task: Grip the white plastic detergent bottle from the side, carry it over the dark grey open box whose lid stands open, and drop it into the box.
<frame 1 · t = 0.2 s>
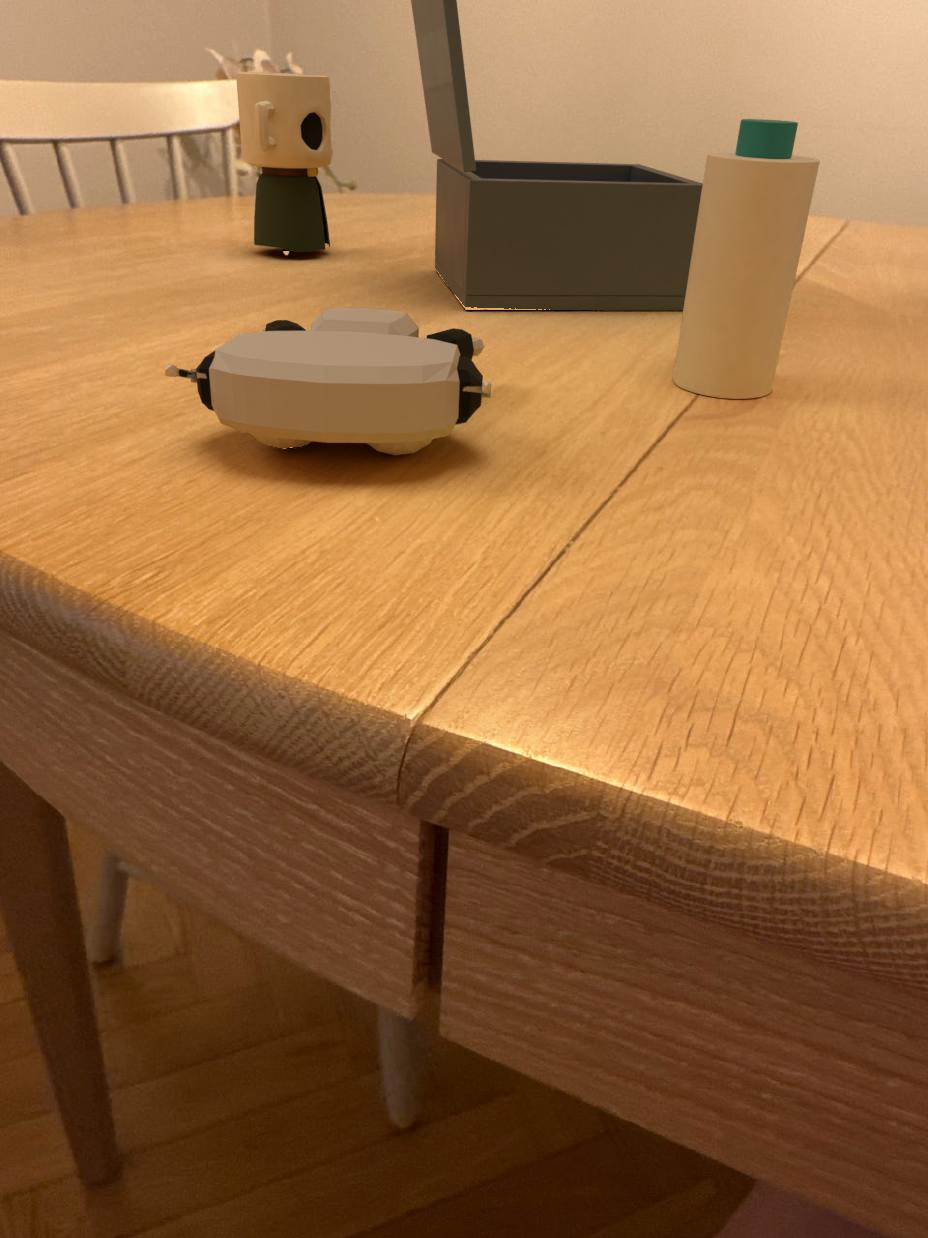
robot toy: (354, 426, 43), on the table
washer lid: (433, 16, 60), point 17 cm above the table, hinge at 100.0°
character mug: (292, 255, 79), on the table
dark grey open box: (554, 289, 70), on the table
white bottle: (721, 384, 50), on the table
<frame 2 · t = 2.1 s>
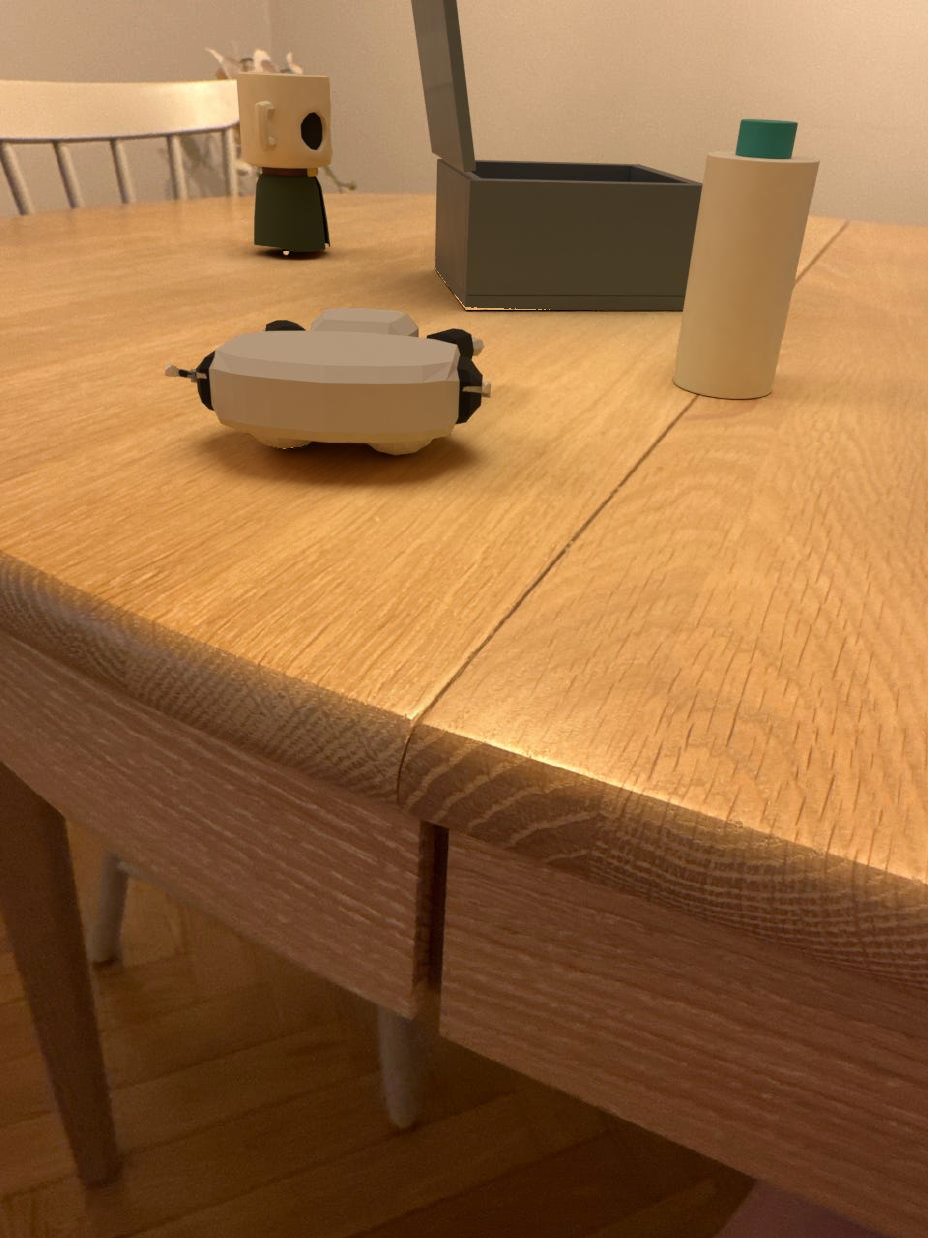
nothing on the table moved.
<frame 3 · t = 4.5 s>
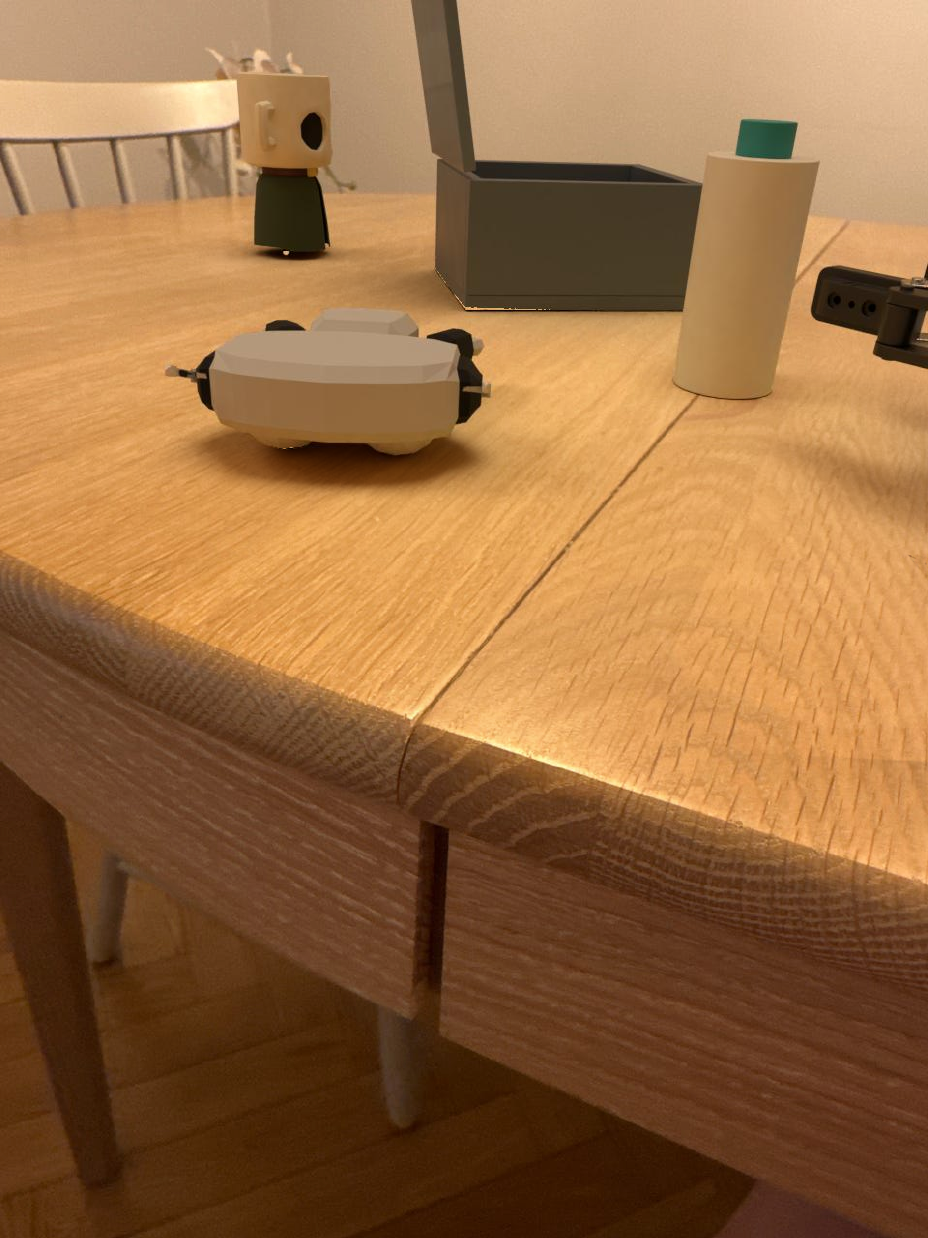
hand: (876, 282, 42), 7 cm above the table, tool horizontal, fingers open, 8 cm apart
nothing on the table moved.
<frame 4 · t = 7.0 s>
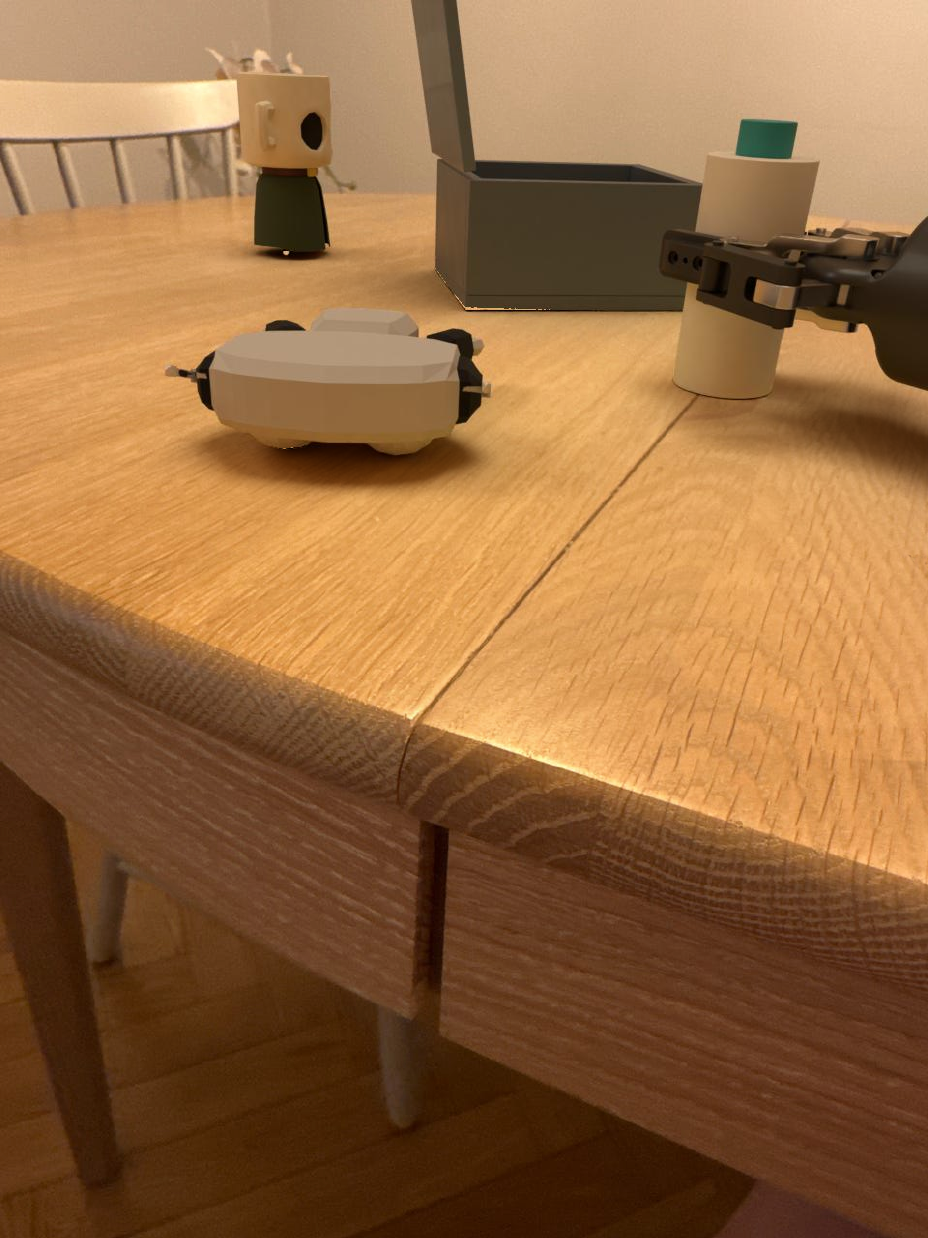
hand: (705, 247, 49), 7 cm above the table, tool horizontal, fingers closed on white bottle, 5 cm apart
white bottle: (721, 384, 50), on the table, touching gripper
everything else where it was.
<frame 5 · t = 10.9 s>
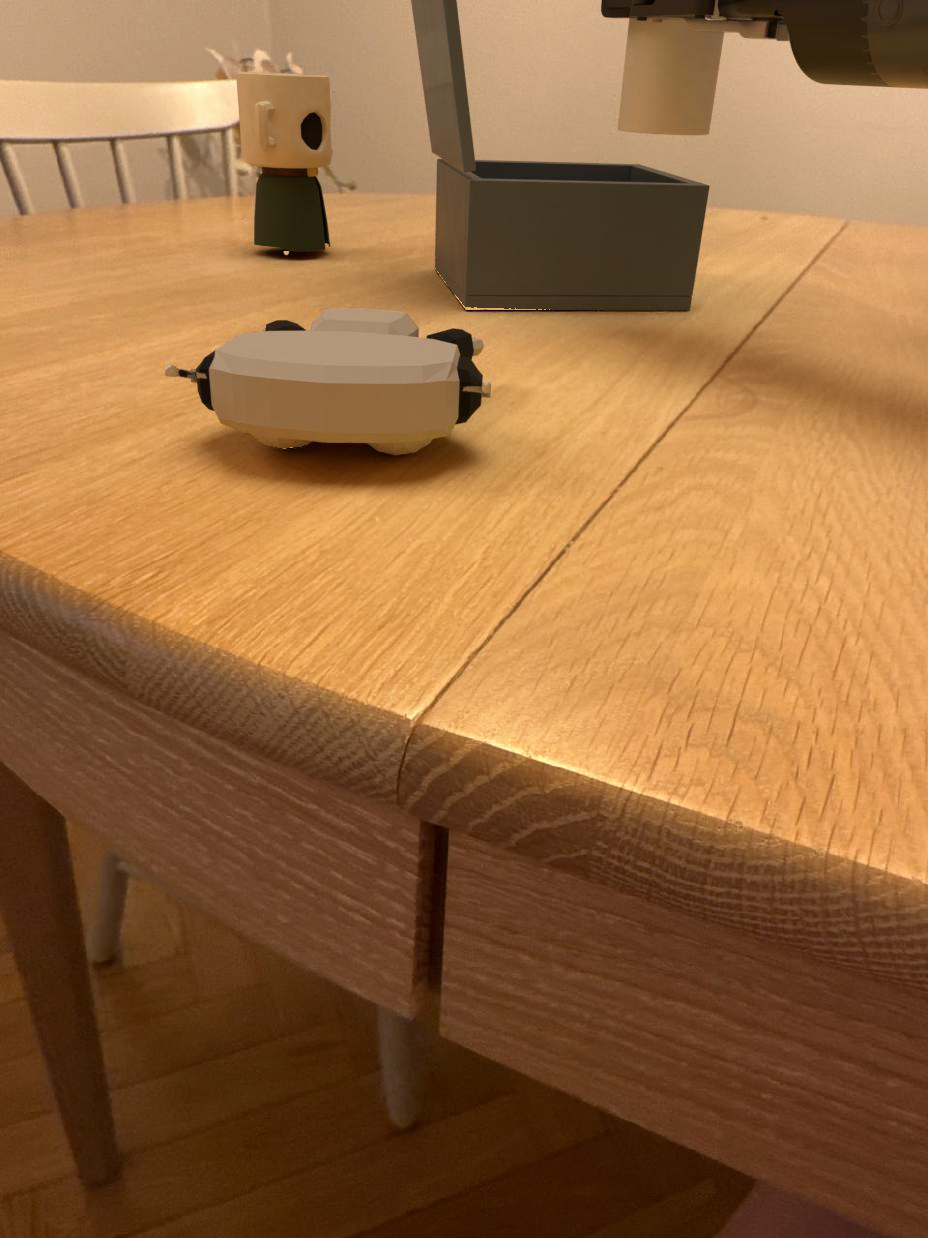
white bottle: (662, 131, 54), point 11 cm above the table, touching gripper
everything else where it was.
when the fingers open (12 cm above the table, at t = 14.6 s): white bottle drops 5 cm, resting on dark grey open box.
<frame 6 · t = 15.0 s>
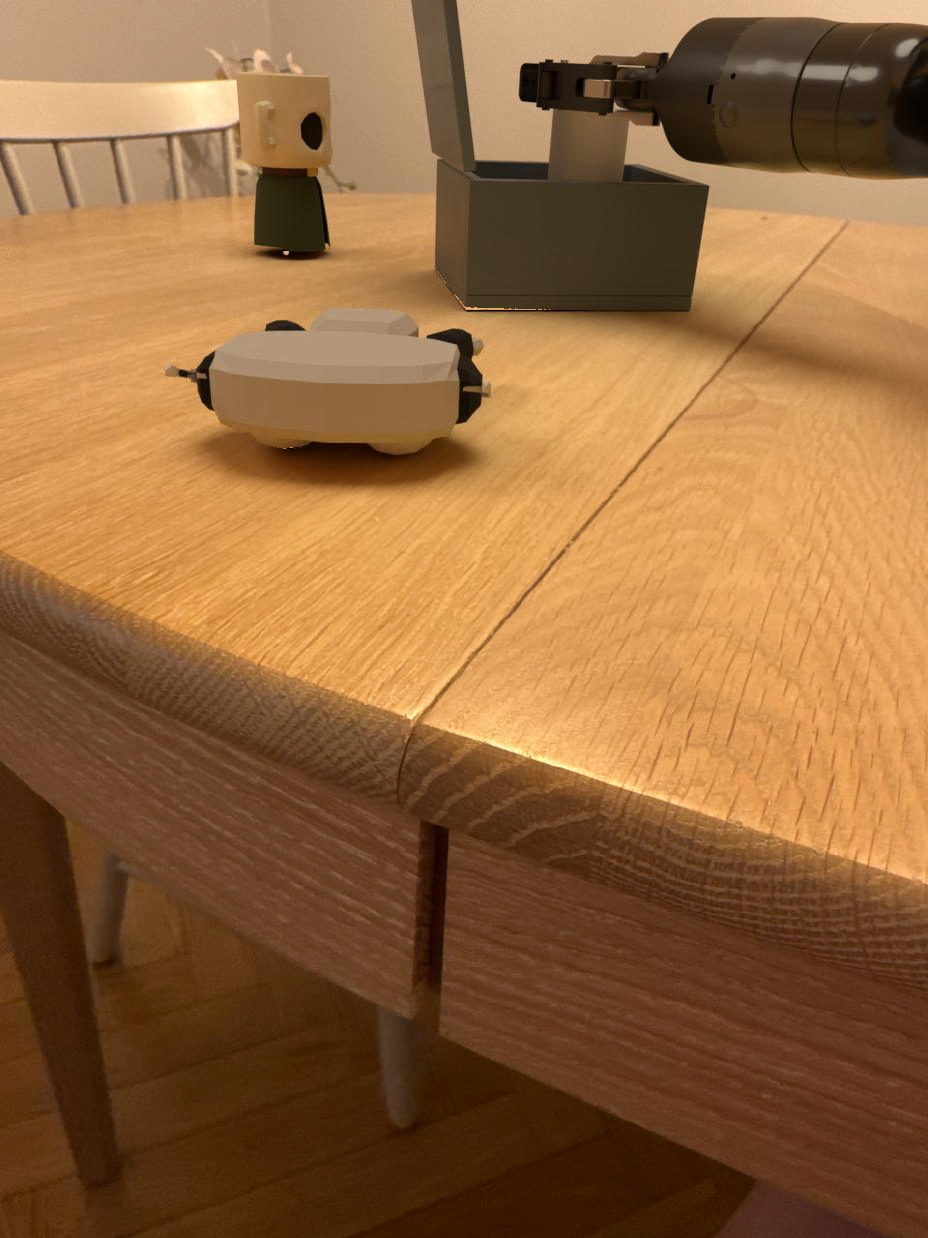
hand: (571, 83, 64), 13 cm above the table, tool horizontal, fingers open, 8 cm apart
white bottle: (575, 277, 69), point 1 cm above the table, touching dark grey open box
everything else where it was.
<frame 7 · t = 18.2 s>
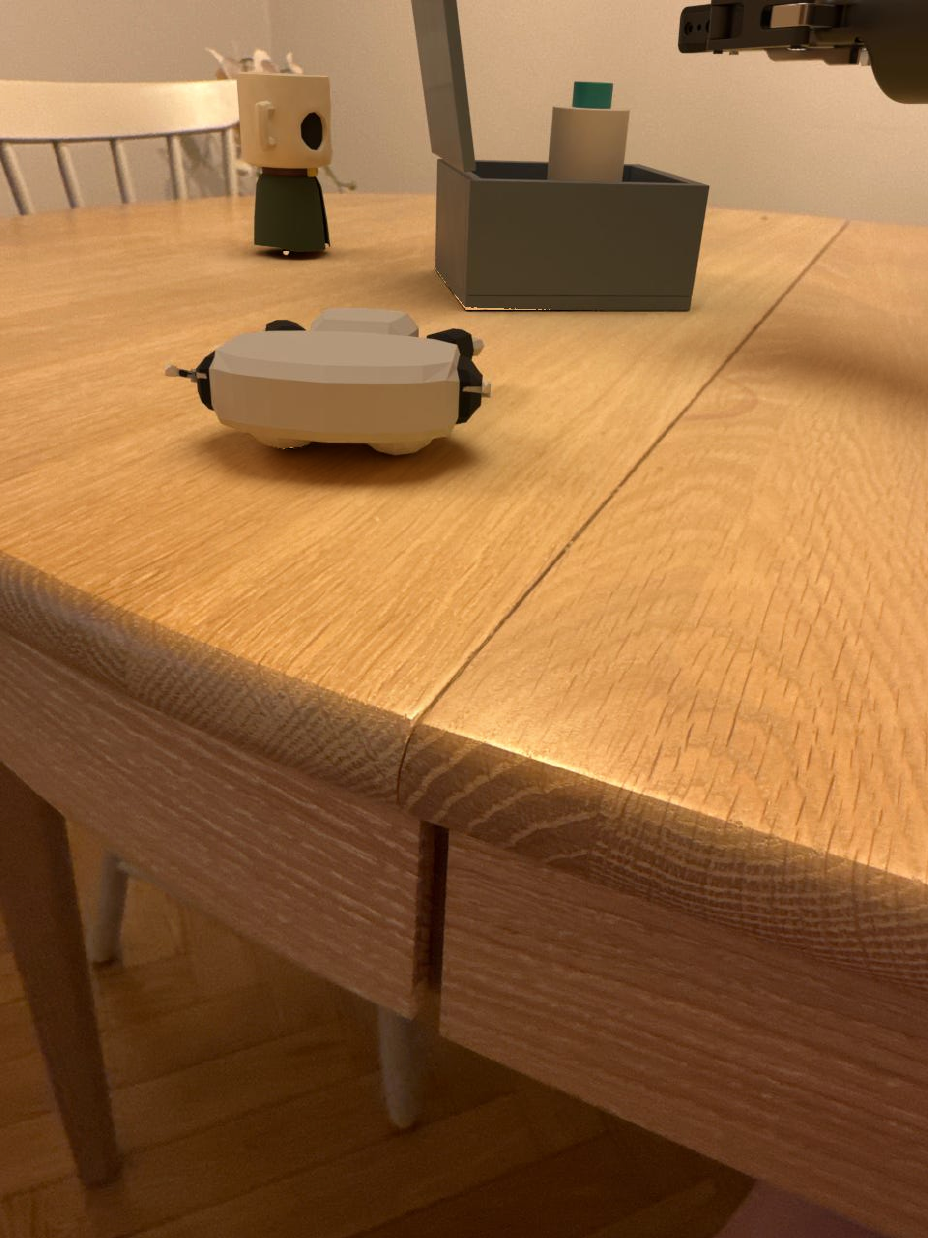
hand: (737, 32, 54), 16 cm above the table, tool horizontal, fingers open, 8 cm apart
nothing on the table moved.
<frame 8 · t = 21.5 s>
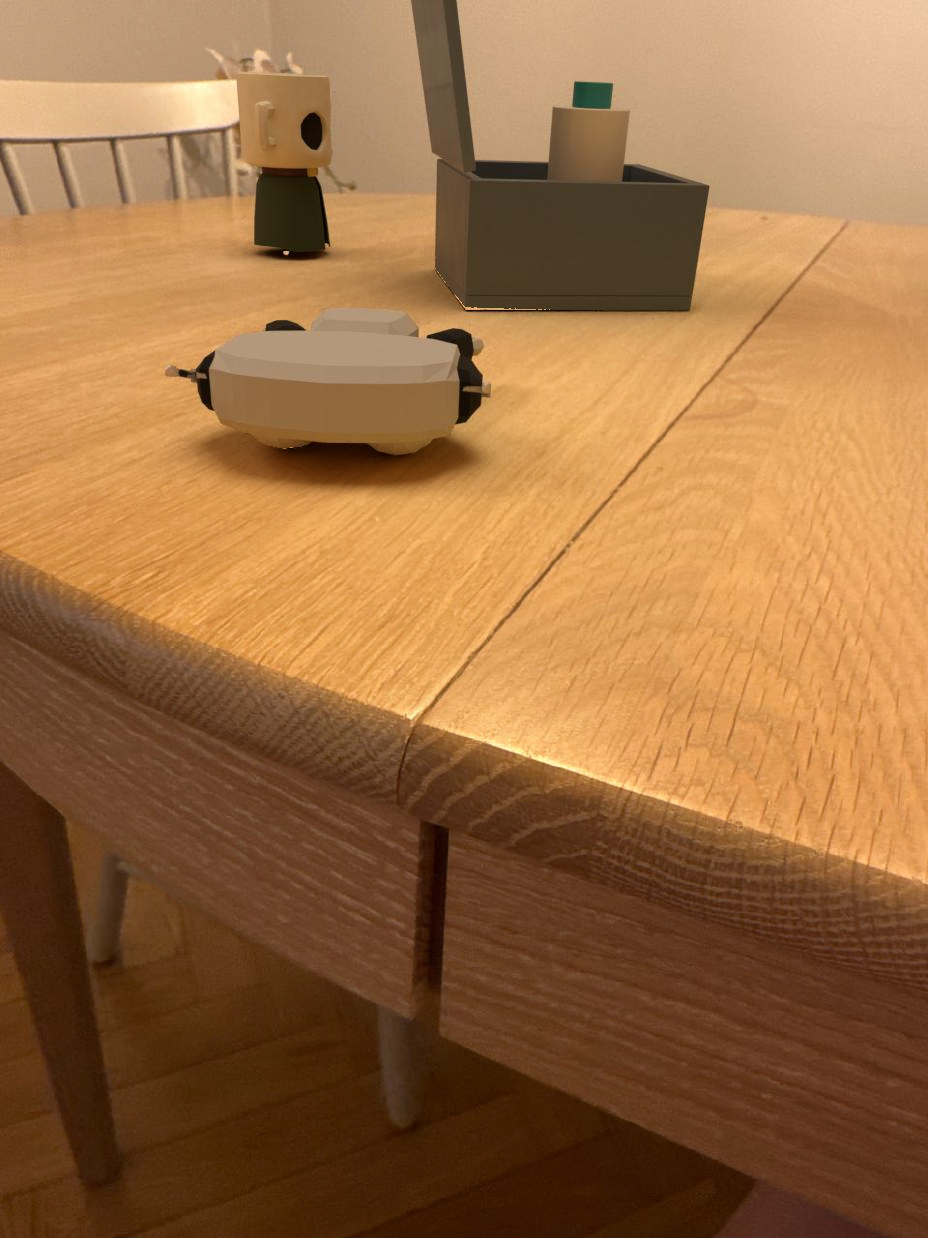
nothing on the table moved.
at the end: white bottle inside the target area in the dark grey open box (1.6 cm from its centre), point 1.0 cm above the dark grey open box's base; the gripper is holding nothing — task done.
